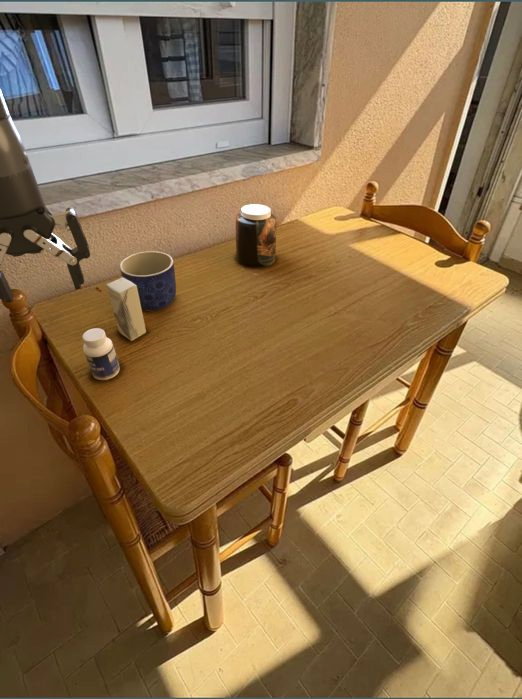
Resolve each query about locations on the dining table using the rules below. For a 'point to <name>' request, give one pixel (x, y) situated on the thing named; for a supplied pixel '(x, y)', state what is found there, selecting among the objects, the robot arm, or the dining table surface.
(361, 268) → the dining table surface
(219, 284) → the dining table surface
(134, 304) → the box
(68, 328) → the dining table surface
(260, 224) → the jar
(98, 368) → the pill bottle
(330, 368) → the dining table surface
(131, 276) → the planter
